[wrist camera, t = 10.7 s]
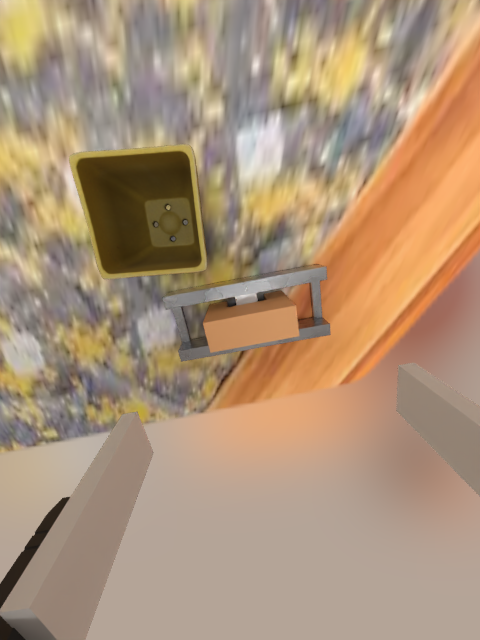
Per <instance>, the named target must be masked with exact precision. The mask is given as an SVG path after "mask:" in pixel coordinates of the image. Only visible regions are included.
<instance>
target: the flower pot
mask: <svg viewBox="0 0 480 640" xmlns="http://www.w3.org/2000/svg"><path fill="white" fill-rule="evenodd" d="M69 163H70V167H71V171H72V174H73V178H74V181H75V185H76V188H77V191H78V194H79V198H80V202H81V205H82V208H83V211H84V215H85V218H86V222H87V226H88V230H89V234H90V238H91V242H92V247H93V251H94V254H95V258H96V263H97V267H98V270H99V272H100V274H101V277H102V278H103V279H117V278H129V277H139V276H152V275H165V274H177V273H191V272H201V271H204V270H206V268H207V252H206V245H205V237H204V229H203V220H202V211H201V202H200V193H199V184H198V175H197V167H196V160H195V155H194V151H193V149H192V147H191V146H190V145H186V144H179V145H166V146H158V147H145V148H133V149H120V150H104V151H88V152H79V153H75V154H72V155H70V156H69ZM166 205H170V207H171V208H170V210H166V208H165V206H166ZM183 220H187V221H188V224H187V225H184V224H183ZM154 222H158V224H159V226H158V227H155V226H154V225H153V224H154ZM172 236H174V237H175V238H176V240H175V241H171V239H170V238H171V237H172Z"/></svg>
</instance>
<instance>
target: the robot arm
mask: <svg viewBox="0 0 480 640" xmlns="http://www.w3.org/2000/svg"><path fill="white" fill-rule="evenodd" d="M396 411H397V412H398V413H399V414H400V415H401V416H402V417H403V418H404V419H405V420H406V421H407V422H408V423H409V424H410V425H411V426H412V427H413V428H414V429H415V430H416V431H417V432H418V433H419V435H420V436H421V437H422V438H423V439H424V440H425V441H426V442H427V443H428V444H429V445H430V446H431V447H432V448H433V449H434V450H435V451H436V452H437V453H438V454H439V455H440V456H441V457H442V458H443V459H444V460H445V461H446V462H447V463H448V464H449V465H450V466H451V467H452V468H453V469H454V471H455V472H457V474H458V475H459V476H460V477H461V478H462V479H463V480H464V481H465V482H466V483H467V484H468V485H469V486H470V487H471V488H472V489H473V490H474V491H475V492H476V493H477V494H478V495H479V496H480V406H479V405H477V404H476V403H474V402H473V401H471V400H469V399H468V398H467V397H465V396H463V395H462V394H460V393H459V392H457V391H456V390H454V389H453V388H451V387H450V386H448V385H447V384H445V383H444V382H442V381H441V380H439V379H438V378H436V377H435V376H433V375H432V374H430V373H429V372H427V371H426V370H424V369H423V368H421V367H420V366H418V365H417V364H415V363H409V364H404V365H398V388H397V410H396ZM152 455H153V450H152V448H151V446H150V443H149V440H148V438H147V435H146V433H145V430H144V428H143V425H142V423H141V420H140V418H139V415H138V413H137V412H132V413H127V414H122V416H121V417H120V419H119V420H118V422H117V424H116V425H115V427H114V428H113V430H112V432H111V433H110V435H109V436H108V438H107V440H106V441H105V443H104V444H103V446H102V448H101V449H100V451H99V453H98V454H97V456H96V457H95V459H94V460H93V462H92V464H91V465H90V467H89V468H88V470H87V472H86V473H85V475H84V476H83V478H82V479H81V481H80V483H79V484H78V486H77V488H76V489H75V491H74V492H73V494H72V495H71V497H66V498H62V499H61V501H59V503H58V504H56V506H55V507H54V508H53V509H52V510H51V511H50V512H49V513H48V514H47V515H46V517H45V518H44V520H43V521H42V523H41V524H40V526H39V527H38V529H37V530H36V532H35V535H34V536H32V538H31V539H30V541H29V542H28V544H27V545H26V546H25V550H24V551H23V552H21V554H20V556H19V557H18V558H17V560H16V561H15V563H14V564H13V566H12V567H11V569H10V570H9V572H8V573H7V575H6V576H5V578H4V579H3V581H2V582H1V584H0V640H85V639H86V636H87V633H88V631H89V628H90V625H91V622H92V620H93V617H94V614H95V611H96V609H97V606H98V603H99V601H100V598H101V595H102V592H103V590H104V587H105V584H106V581H107V578H108V576H109V573H110V570H111V568H112V565H113V562H114V559H115V557H116V554H117V551H118V549H119V546H120V543H121V540H122V537H123V535H124V532H125V529H126V527H127V524H128V521H129V518H130V516H131V513H132V510H133V508H134V505H135V502H136V499H137V497H138V494H139V491H140V488H141V485H142V483H143V480H144V477H145V475H146V472H147V469H148V466H149V464H150V461H151V458H152Z"/></svg>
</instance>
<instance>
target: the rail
mask: <svg viewBox="0 0 480 640" xmlns="http://www.w3.org/2000/svg"><path fill="white" fill-rule="evenodd" d="M322 280H327V270H326V266H322V265H319V264H314V265H308V266H303V267H298V268H292V269H287V270H282V271H277V272H271V273H266V274H261V275H255V276H250V277H245V278H239V279H234V280H229V281H224V282H218V283H213V284H208V285H202V286H197V287H192V288H186V289H181V290H176V291H171V292H168V293H167V294H166V295H165V296H163V297H162V299H163V302H164V305H165V309H173V312H174V316H175V319H176V323H177V326H178V330H179V333H180V337H181V340H182V344H181V346H180V348H179V351H178V352H179V356H180V359H181V362H182V361H187V360H193V359H198V358H204V357H209V356H215V355H220V354H226V353H232V352H237V351H243V350H248V349H254V348H259V347H265V346H270V345H276V344H282V343H287V342H293V341H298V340H304V339H309V338H315V337H320V336H326V335H330V323H328V322H327V321H326V320H325V319H324V318H322V307H321V293H320V281H322ZM305 283H310V291H311V303H312V314H313V317H311V318H306V319H300V320H298V327H299V336H298V337H292V338H287V339H282V340H276V341H271V342H266V343H260V344H255V345H250V346H244V347H239V348H233V349H228V350H223V351H217V352H212V353H210V349H209V345H208V341H207V337H202V338H196V339H190V335H189V331H188V328H187V324H186V320H185V317H184V313H183V310H182V306H188V305H193V304H198V303H204V302H209V301H214V300H220V299H225V298H230V297H235V300H236V305H242V304H248V303H253V302H258V299H257V292H263V291H268V290H273V289H279V288H284V287H289V286H295V285H300V284H305Z"/></svg>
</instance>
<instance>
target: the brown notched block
mask: <svg viewBox="0 0 480 640" xmlns="http://www.w3.org/2000/svg"><path fill="white" fill-rule="evenodd" d="M203 326H204V329H205V333H206V337H207V341H208V345H209V349H210V353H212V352H217V351H223V350H228V349H233V348H239V347H244V346H250V345H255V344H260V343H266V342H271V341H276V340H282V339H287V338H292V337H298V336H299V327H298V318H297V310H296V305H295V304H294V303H293V302H292V301H291V300H290V299H289V298H288V297H287V296H286V295H285V294H284V293H283V292H282V291H276V292H271V293H266V294H264V300H263V301H258V302H253V303H248V304H242V305H237V306H232V307H228V304H227V301H225V302H219V303H214V304H210V305H209V307H208V310H207V313H206V316H205V319H204V322H203Z"/></svg>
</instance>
